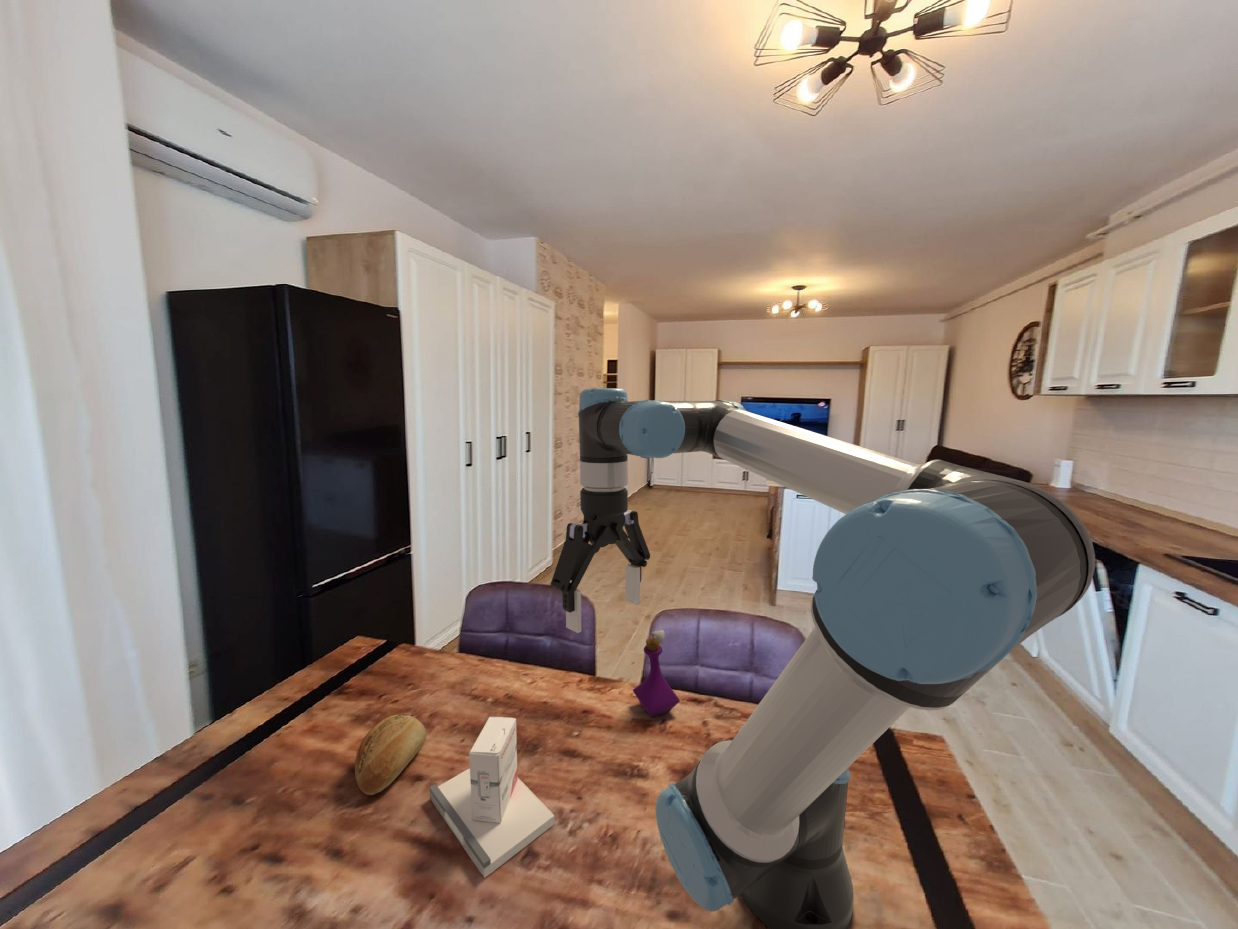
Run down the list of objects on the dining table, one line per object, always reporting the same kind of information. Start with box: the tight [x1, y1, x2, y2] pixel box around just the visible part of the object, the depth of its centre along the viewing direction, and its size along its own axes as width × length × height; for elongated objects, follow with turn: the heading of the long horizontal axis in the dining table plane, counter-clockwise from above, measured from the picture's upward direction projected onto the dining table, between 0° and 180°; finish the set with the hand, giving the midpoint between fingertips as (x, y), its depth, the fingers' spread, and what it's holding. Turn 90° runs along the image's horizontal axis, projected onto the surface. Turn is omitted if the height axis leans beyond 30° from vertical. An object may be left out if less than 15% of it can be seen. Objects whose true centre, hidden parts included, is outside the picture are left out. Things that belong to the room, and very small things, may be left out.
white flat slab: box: [429, 767, 555, 879], centre depth 76 cm, size 18×12×2 cm
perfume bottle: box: [632, 629, 681, 718], centre depth 99 cm, size 8×8×18 cm
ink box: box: [468, 716, 518, 823], centre depth 75 cm, size 9×5×12 cm, turn 174°
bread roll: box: [354, 714, 427, 796], centre depth 84 cm, size 10×15×8 cm, turn 173°
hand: (605, 615), depth 77 cm, fingers open, 13 cm apart
